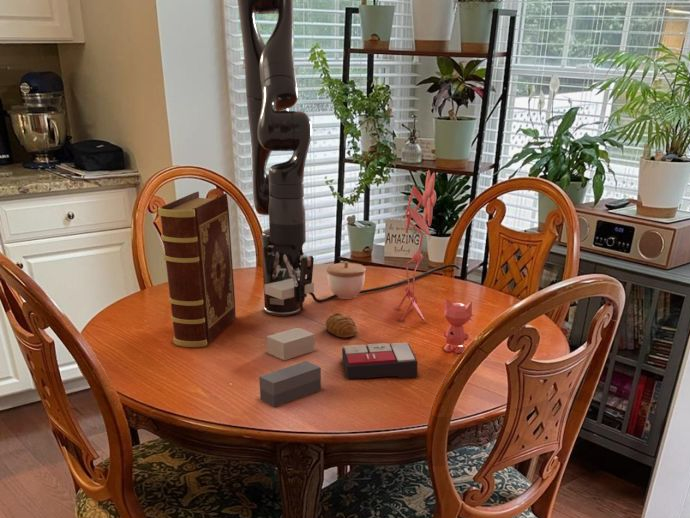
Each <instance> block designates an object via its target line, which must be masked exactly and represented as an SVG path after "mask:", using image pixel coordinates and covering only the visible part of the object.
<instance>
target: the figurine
mask: <svg viewBox="0 0 690 518" xmlns="http://www.w3.org/2000/svg"><path fill="white" fill-rule="evenodd" d="M435 182H436V173H435V172H432V174H431V170H430V169H427V172H426V175H425V183H424V184H425V185H424V191H423V192H422V193H421V191H420V190H419V189H418V188H417V187H416V186H415V185H413V186H412V187H411V192H410V196H409V200H408V203H407V206H406V210H405V213H404V220H405V223H406V224H405V225H406V226H405V233H406V234H409V228H410V226H412V227H413V228H414V229H415V230H416V231H417V232H418V233H420V240H419V245H418V251H416V252H414V253H413V254H412V255H411V259H410V260H409V261H407V262H405V268H406V276H407V277H406V279H408V282H407V286H406V287H405V288H404V289H405V294H404V296H403V297H402V299H401V301H400V303H399V305H398V306H397V308H396V309H397V310H398V311H400V309H401V307H402V306H403V304H404V302H405V300H406V298H408V299H409V301H410V302H409V304H408V306H407V307H406V309H405V311H404V312H403V314H402V316H401V318H400V322H403V321H404V319H405V317H406V315H407V314H408V312H409V310H410V308H411V306H412V307H413V308H414V310H415V312H416V313H417V315H418V317H419V318H420V319H421V320H422V321H423V322H424V323H425V322H426V320H425V317H424V315H423V313H422V311H421V310H420V307H419V306H418V300H417V297H416V295H415V282H416V281H415V280H416V279H415V276H416V272H417V269H418V267H419V264H420V263H421V262H422V260H423V255H422V253H421V249H422V243H423V237H424V233H425V234H426V235H428V236H431V232H430V229H429V227H431V225H432V222H433V213H434V212H433V208H434V207H435V205H436V201H437V192H436V190H435ZM413 196H414V197H415V199H416V200H417V201H418V203H417V204H416V205H417V206H416V207H415V208H413V207H410V206H411V204H412V201H413V200H412V199H413ZM420 206H422V207H423V214H420V213H419V212H418V211H417V210H418V209H419V208H420ZM422 215H423V216H422ZM411 219H412V220H413V221H414V223H415V224H416V225H417V226H416V225H415V224H414V223H412V222H411ZM423 232H424V233H423ZM412 262H413V263H415V264H416V266H415V268H414V271H413V273H412V277H413V280H412V289H411V286H410V281H409V278H410V276H409V267H408V264H409V263H412ZM431 304H432V305H437V306H439V307H442V308H444V305H441V304H438V303H434V302H431ZM402 328H404V329H407V326H401V329H402Z"/></svg>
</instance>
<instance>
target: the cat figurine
mask: <svg viewBox="0 0 690 518" xmlns="http://www.w3.org/2000/svg"><path fill="white" fill-rule="evenodd" d="M472 308H473V301H470V302H468V303H466V304H464V303H461V302H454V303H452V302H451V301H450V300H449V298H445V300H444V305H443V315H444V318H445V319H446V322H448V323H449V326H448V328H447V329H446V330H444V334H443V336H444V337H445V344H446V345H444V347H443V349H444V351H446V352H448V353H451V352H453V350H454V353H455V354H460V353H464V352H463V350H464V349H465V347H464V346H463V345H464V344H465V341H467V340H468V339H469V333H468V332H467V331H466V332H465V329H464V325H466V324H467V323H468V322H469V321H472V322H474V321H473V319H471V318H472V317H474V315H473V312H472V311H473V309H472ZM453 346H456V347H455V349H453Z"/></svg>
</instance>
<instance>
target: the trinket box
mask: <svg viewBox="0 0 690 518" xmlns="http://www.w3.org/2000/svg"><path fill="white" fill-rule="evenodd" d="M326 279H327V285H328V289H329V290H330V292H331V293H332V294H333V295H337V296H338V297H336V298H337V299H341V300H350V299H351V300H352V299H355V298H357V297H358V295H360V294H359V293H360V291H362V290H363V288H364V286H365V280H366V266H364V265H361V264H359V263H353V262H352V263H351V262H349V261H348V260H347V261H344V262H338V263H333V264H332V263H331V264H329V265H327V267H326Z"/></svg>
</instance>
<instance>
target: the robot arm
mask: <svg viewBox="0 0 690 518" xmlns="http://www.w3.org/2000/svg"><path fill="white" fill-rule="evenodd" d="M237 6H238V7H237V8H238V13H239V23H240V29H241V38H242V46H243V48H242V49H243V57H244V58H243V61H244V77H245V93H246V94H245V95H246V108H247V118H248V126H249V136H250V144H251V145H250V146H251V169H252V170H251V174H252V175H251V176H252V198H253V206H254V209H255V211H256V213H257V214H258V215H261V216H268V226H269V228H267V229H264V230H263V231H262V233H261V236H260V238H261V257H262V258H261V259H262V260H261V261H262V279H263V282H262V283H263V286H264V285H265V284H269V283H273V282H278V281H282V280H287V279H291V278H292V279H293V282H294V285H295V286H294V297H291V298H287V299H283V300H281V299H278V298H276V297H273V296H270V295H267V294H265V290H264V289H263V298H264V299H263V300H264V301H263V302H264V303H263V304H264V307H263V309H264V313H266V314H268V315H270V316H275V317H276V316H277V317H288V316H294V315H297V314H299V313H300V312H301V311H303V310H304V302H305V299H306V298H307V297H308V295H310V296H311V297H312V299H313V301H314V302H316V303H324V302H328V301H330V300H333V299H335V298H337V297H338V296H337V295H335V294H333V295H331V296H328V297H326V298H324V299H319V298H317V296H316V295H315V294H314V293H315V292H312V293H308V294H305V285H307V284H311V283H313V274H314V260H315V258H314V256H313V255H309V256H308V255H306V254H305V252H304V249H303V246H304V245H305V244H306V241H307V233H306V232H307V229H306V228H307V227H306V224H307V223H306V222H307V221H306V203H305V185H304V183H305V180H304V177H305V166H306V161H307V157H308V152H309V148H310V145H311V141H312V135H313V125H312V121H311V119H310V117H309V115H308V114H307V113H306V112H304V111H301V110H290V109H291V108H292V107H294V106H295V105H296V103H297V102H298V98H299V92H298V91H299V89H298V82H297V73H296V68H295V66H296V65H295V53H294V51H295V50H294V48H295V47H294V45H295V43H294V41H295V40H294V39H295V37H294V36H295V35H294V34H295V29H294V28H295V21H294V20H295V19H294V18H295V17H294V0H237ZM256 15H277V20H276V23H275V26H274V28H273V31H272V32H271V35H270V36H269V38H268V40H267V41H266V42H264V40H263V38H262V36H261V33H260V31H259V29H258V26H257V22H256V19H255V18H256V17H255V16H256ZM272 152H292V155H291V156H290V158H289V159H288V160H287V161H284V162H280V163H279V162H278V163H276V164H272V165H271V166H270V167H269V168H268V173H267V165H268V162H269V159H270V157H271V154H272ZM447 268H455V269H457V270H461V268H460V267H459V265H457V264H456V263H455V264H454V263H449V264H446V265H443V266H440V267H435V268H432V269H430V270H427V271H425V272H422V273H420V274H417V275H415V280H417V279H419V278H422V277H424V276H427V275H428V274H429V275H430V274H431V273H433V272H438V271H442V270H444V269H447ZM298 278H300V280H298ZM411 281H413V276H412V277H409V282H411ZM405 283H408V279H407V278H406V279H404V280H401V281H398V282H394V283H391V284H387V285H382V286H379V287H374V288H373V287H372V288H368V289H362V290H361V291H360V293H359V294H358V295H361V294H367V293H371V292H376V291H382V290H386V289H389V288H393V287H396V286H399V285H404V284H405Z"/></svg>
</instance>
